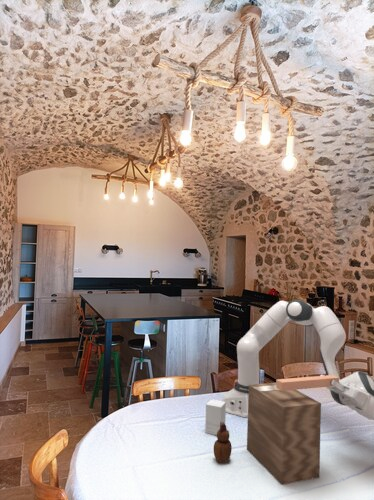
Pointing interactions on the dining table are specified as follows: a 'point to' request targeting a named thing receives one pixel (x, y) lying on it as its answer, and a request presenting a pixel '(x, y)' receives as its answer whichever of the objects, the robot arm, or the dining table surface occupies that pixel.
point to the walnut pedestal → (284, 432)
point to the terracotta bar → (305, 382)
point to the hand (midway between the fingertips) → (327, 379)
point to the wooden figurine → (222, 444)
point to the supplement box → (214, 416)
